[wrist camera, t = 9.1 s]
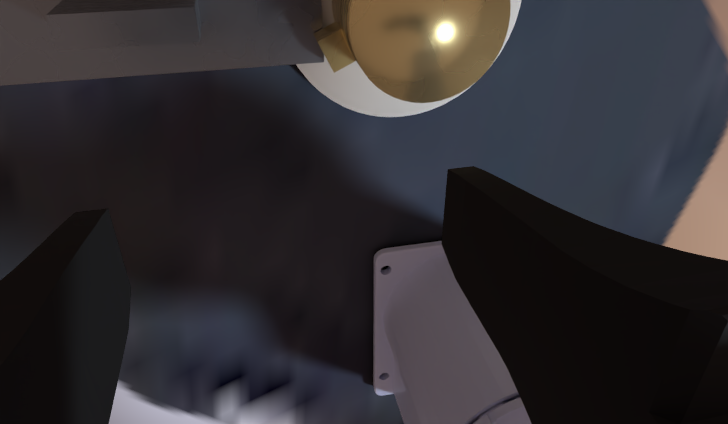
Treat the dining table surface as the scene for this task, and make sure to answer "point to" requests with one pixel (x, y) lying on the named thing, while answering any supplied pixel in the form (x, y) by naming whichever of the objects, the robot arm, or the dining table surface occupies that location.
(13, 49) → the post base
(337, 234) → the dining table surface
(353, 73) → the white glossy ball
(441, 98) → the cap
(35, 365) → the robot arm
